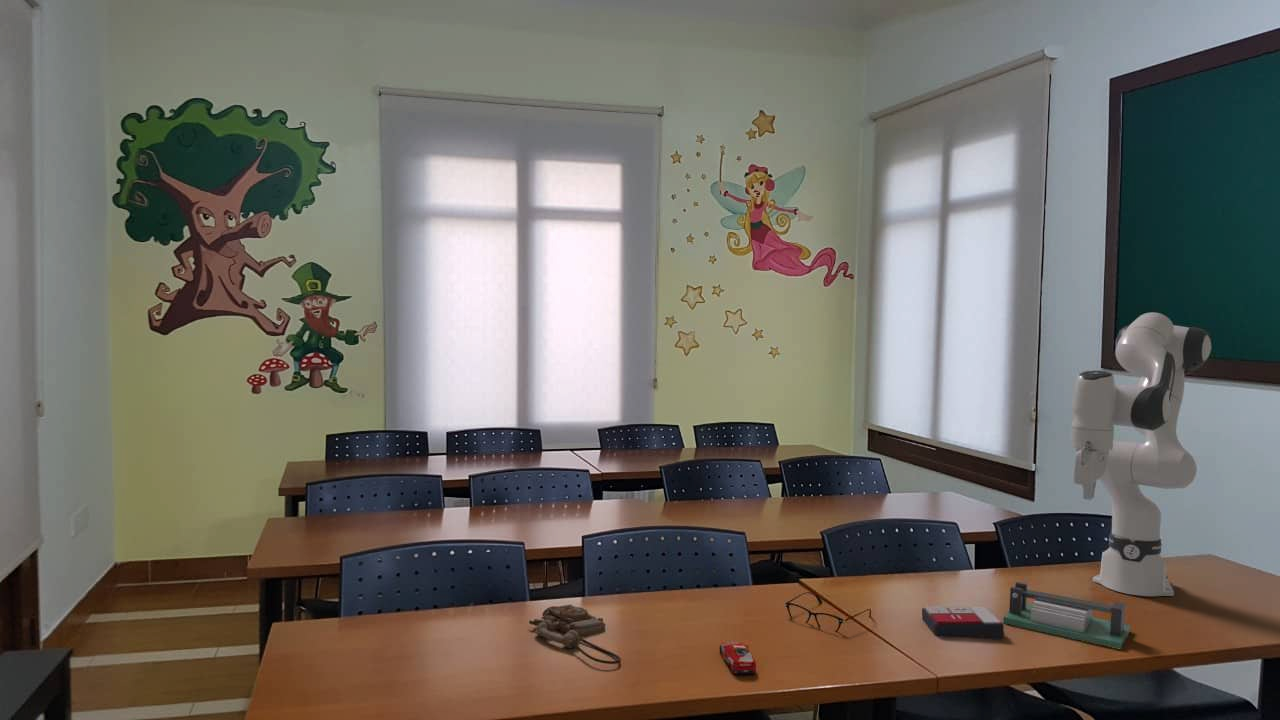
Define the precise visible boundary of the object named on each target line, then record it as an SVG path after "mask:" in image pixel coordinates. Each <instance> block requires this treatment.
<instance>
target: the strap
mask: <svg viewBox="0 0 1280 720" xmlns="http://www.w3.org/2000/svg"><path fill="white" fill-rule="evenodd" d="M1022 597H1027V599H1028V598H1029V599H1031V600H1032V599H1033V600H1036V599H1037V600H1043V601H1048V602H1053V603H1059V604H1064V605H1069V606H1075V607H1080V608H1085V609H1091V610H1093V611H1095V612H1096V611H1097V612H1101V613H1102V612H1103V613H1108V614H1111V608H1112V606H1113V604H1109V603H1108V604H1107V603H1102V602H1096V601H1091V600H1085V599H1081V598H1074V597H1070V596H1065V595H1064V596H1063V595H1058V594H1053V593H1047V592H1042V591H1036V590H1031V589H1027V590H1026V589H1023V591H1022Z"/></svg>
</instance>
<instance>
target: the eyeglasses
mask: <svg viewBox="0 0 1280 720" xmlns="http://www.w3.org/2000/svg"><path fill="white" fill-rule="evenodd" d="M805 594H806V595H807V594H810V595H813V596H814V597H815V598H816V600H817V602H818V604H823V603H824V602H823V601H822V599H821V598H820V597H819V595H817V594H815V593H813V592H803V593H801V594H800V595H798V596H796V597H794V598H792V599H790V600H789V601H787V602H785V603H784V605H785V607H786V608H787V613H788V614H789V617H790V618H791V619H794V617H793V616H792V614H791V611H790V606H794V607H798V608H799V609H802V610H804V611H805V612H808V618H807V620H806V621H805V624H806V623H808V622H809V621H810V620H812V616H813V617H814V619H815V622H816V625H817V626H818V628H821V625H820V623H819V620H818V617H817V616H818V615H821V616H823V615H824V616H828V617H832V618H834V619H837V620H838V626H837V629H836V630H834V632H836V633H837V632H839V630H840V627H841V625H842V624H843V623H845V622H848V621H849V620H851V619H853V618H855V617H857V616H859V615H861V614H863V613H865V612H867V611H869V615H868V617H869V618H871V616H872V610H871V609H870V608H866V610H863V611H861V612H858V613H857V614H855V615H852V616H850V617H848V618H846V619H843V618H841V617H839V616H836V615H833V614H830V613H825V612H813V611H810V609H807V608H805V607H804V606H802V605H799V604H798V603H797V604H796V603H792V601H794V600H796V599H797V598H800V597H801V596H803V595H805Z"/></svg>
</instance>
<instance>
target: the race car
mask: <svg viewBox="0 0 1280 720" xmlns="http://www.w3.org/2000/svg"><path fill="white" fill-rule="evenodd" d="M749 647H750V646H749V645H747V644H745V643H742V642H739V641H734V640H733V641H732V640H731V641H730V640H729V641H725V642H722V643H720V644H719V654H720V656H721V657H722V659H723V660H724V663H725V664H726V666H727V667H728V671H729V672H731V673H733V674H736V675H738V674H739V675H742V674H744V675H745V674H747V675H748V674H756V673H757V664H756V660H755V657H754V656H753V655H752V653H751V651H750V650H749Z"/></svg>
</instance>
